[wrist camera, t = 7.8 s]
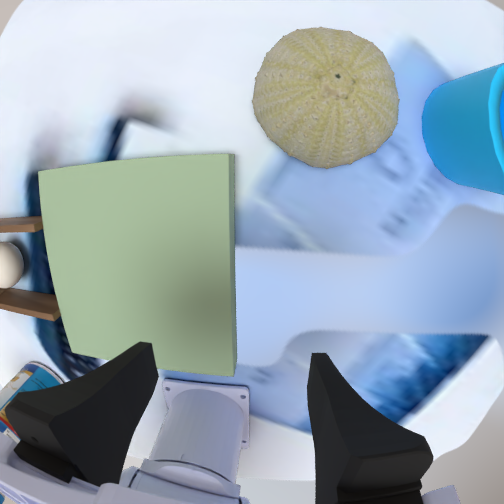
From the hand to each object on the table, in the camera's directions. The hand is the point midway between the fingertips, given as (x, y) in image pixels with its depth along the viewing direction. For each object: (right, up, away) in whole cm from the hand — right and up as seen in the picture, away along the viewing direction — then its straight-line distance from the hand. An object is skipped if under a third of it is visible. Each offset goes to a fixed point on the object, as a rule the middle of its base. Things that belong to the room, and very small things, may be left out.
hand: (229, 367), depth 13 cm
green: (-8, +4, +10) cm, 13 cm away
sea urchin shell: (+6, +15, +6) cm, 17 cm away
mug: (+19, +15, +5) cm, 24 cm away
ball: (-22, +4, +9) cm, 24 cm away
